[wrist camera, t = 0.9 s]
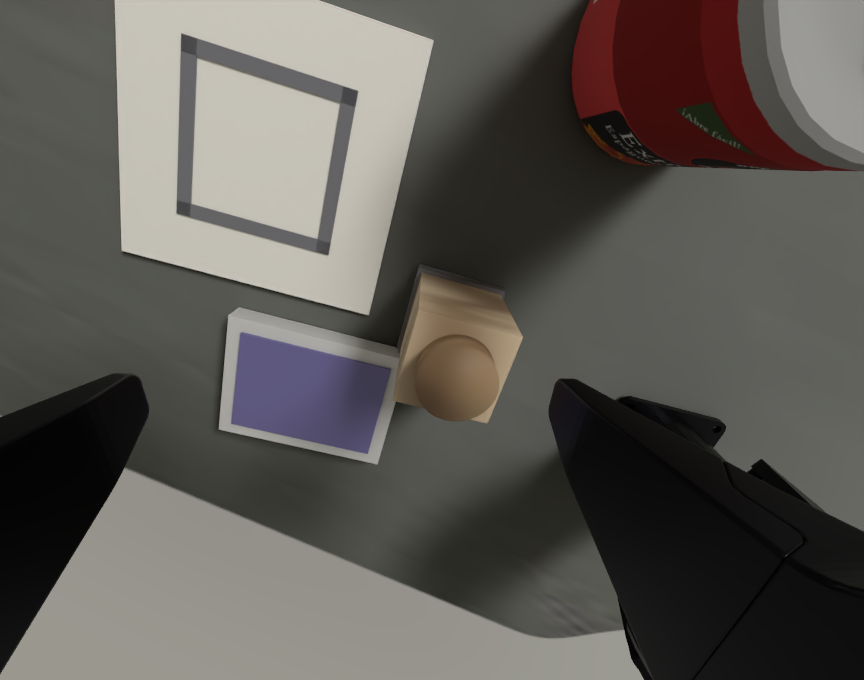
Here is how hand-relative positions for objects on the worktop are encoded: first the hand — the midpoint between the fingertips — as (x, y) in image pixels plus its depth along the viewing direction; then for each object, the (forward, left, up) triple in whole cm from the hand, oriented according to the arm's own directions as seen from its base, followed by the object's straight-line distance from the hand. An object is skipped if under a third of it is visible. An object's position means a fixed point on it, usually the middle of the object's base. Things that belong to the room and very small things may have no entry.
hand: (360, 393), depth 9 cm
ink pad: (+3, +8, -12) cm, 15 cm away
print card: (+7, -3, -12) cm, 14 cm away
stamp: (-3, +2, -12) cm, 13 cm away
